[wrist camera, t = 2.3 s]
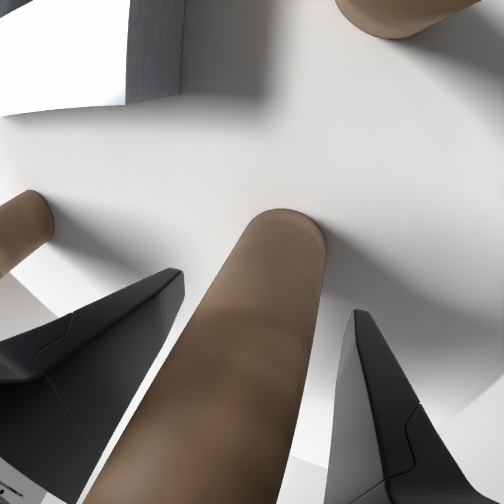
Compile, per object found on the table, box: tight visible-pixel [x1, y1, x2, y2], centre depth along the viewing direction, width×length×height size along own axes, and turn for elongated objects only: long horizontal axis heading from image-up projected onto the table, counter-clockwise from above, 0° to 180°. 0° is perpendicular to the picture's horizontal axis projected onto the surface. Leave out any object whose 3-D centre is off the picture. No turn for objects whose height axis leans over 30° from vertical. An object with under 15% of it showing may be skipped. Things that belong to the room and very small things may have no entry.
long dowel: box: [82, 209, 326, 504], centre depth 7 cm, size 3×3×10 cm
